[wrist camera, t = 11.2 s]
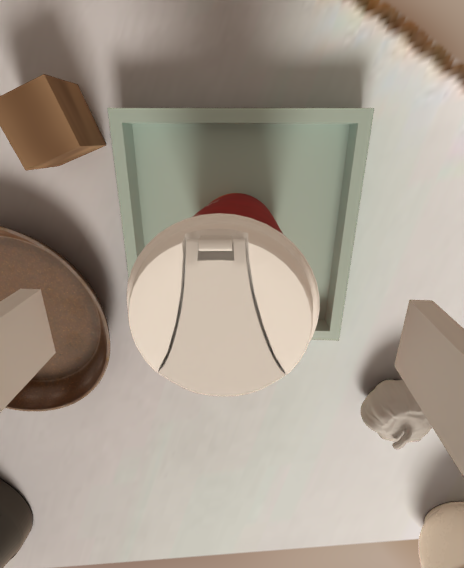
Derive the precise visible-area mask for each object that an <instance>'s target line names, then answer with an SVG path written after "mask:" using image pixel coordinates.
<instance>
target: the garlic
mask: <svg viewBox="0 0 464 568" xmlns="http://www.w3.org/2000/svg"><path fill="white" fill-rule="evenodd" d="M361 416H362V419H363V421H364V423H365V424H366V425H367V426H368V427H369V428H370V429H372V430H373V431H375V432H378V434H379V436H380V437H381V438H382V439H385V440H390V441H394V442H395V443H393V447H394V448H395V449H400V448H402V447H403V446H404V445H405V444H406V443H408V442H417V441H420V440H421V438H422V437H423V436H425V435H426V434H427V433H428V432H429V431H430V429H431V428H432V426H431V424H430V423H429V421H428V419H427V418H426V416H425V415H424V413H423V411H422V410H421V408H420V407H419V405H418V403H417V402H416V400H415V399H414V397H413V395H412V394H411V392H410V391H409V389H408V387H407V386H406V384H405V382H404V381H403V379H402V380H385V381H383V382H381V383H379V384H378V385H377V386H376V388H375V389H374V390H373V391H371V392H370V393H369V394H368V396H367V397H366V399H365V400H364V402H363V403H362V406H361Z"/></svg>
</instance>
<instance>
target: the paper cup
mask: <svg viewBox="0 0 464 568" xmlns="http://www.w3.org/2000/svg"><path fill="white" fill-rule="evenodd" d="M127 309H128V319H129V326H130V330H131V334H132V337H133V339H134V341H135V344H136V346H137V348H138V350H139V352H140V353H141V355H142V356H143V358H144V359H145V360H146V362H147V363H148V364H149V365H150V366H151V367H152V369H154V370H155V371H156V372H157V371H158V369H159V371H158V374H160V375H162V376H163V377H165V378H167V379H168V380H170V381H171V382H173V383H175V384H177V385H179V386H181V387H182V388H184V389H187V390H190V391H192V392H195V393H199V394H204V395H210V396H238V395H244V394H249V393H252V392H255V391H258V390H261V389H263V388H265V387H267V386H269V385H271V384H272V383H274V382H276V381H277V380H279V379H281V378H282V377H284V376H285V373H286V374H288V373H289V372H290V371H291V370H292V369H293V368H294V367H295V366H296V365H297V363H298V362H299V361H300V359H301V358H302V356H303V354H304V352H305V351H306V349H307V346H308V344H309V342H310V340H311V339H312V337H313V334H314V331H315V329H316V326H317V322H318V317H319V311H320V297H319V291H318V286H317V282H316V279H315V276H314V274H313V271H312V268H311V267H310V265H309V263H308V262H307V260H306V258H305V256H304V255H303V254H302V253H301V251H300V250H299V249H298V248H297V247H296V246H295V244H294V243H293V242H292V241H290V240H289V239H288V238H287V237H286V236H284V235H283V233H282V231H281V229H280V228H279V226H278V224H277V222H276V221H275V219H274V217H273V216H272V214H271V213H270V211H269V210H268V208H267V207H266V206H265V205H264V204H263V203H262V202H261V201H259V200H258V199H256V198H254V197H252V196H250V195H247V194H242V193H231V194H226V195H223V196H221V197H219V198H217V199H215V200H213V201H212V202H210V203H209V204H208V205H206V206H205V207H204V208H203V209H201V210H200V211H199V212H198V213H196V214H195V215H194V216H193V217H191V218H187V219H184V220H182V221H179V222H177V223H175V224H173V225H171V226H169V227H168V228H166V229H165V230H163V231H162V232H160V233H159V234H157V235H156V236H155V237H154V238H153V239H152V240H151V241H150V242H149V243H148V244H147V245H146V246H145V247H144V249H143V250H142V252H141V253H140V254H139V256H138V257H137V259H136V261H135V263H134V265H133V267H132V270H131V273H130V277H129V280H128V286H127ZM159 367H160V368H159Z"/></svg>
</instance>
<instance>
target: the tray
mask: <svg viewBox="0 0 464 568" xmlns="http://www.w3.org/2000/svg"><path fill="white" fill-rule="evenodd" d="M107 109H108V117H109V125H110V133H111V141H112V149H113V157H114V165H115V173H116V181H117V189H118V197H119V205H120V213H121V221H122V229H123V237H124V245H125V253H126V261H127V269H128V277H130V273H131V270H132V267H133V265H134V263H135V261H136V259H137V257H138V256H139V254H140V253H141V252H142V250H143V249H144V247H145V246H146V245H147V244H148V243H149V242H150V241H151V240H152V239H153V238H154V237H155V236H156V235H157V234H159V233H160V232H162V231H163V230H165V229H166V228H168V227H169V226H171V225H173V224H175V223H177V222H179V221H182V220H184V219H187V218H191V217H193V216H194V215H195V214H196V213H198V212H199V211H200V210H201V209H203V208H204V207H205V206H206V205H208V204H209V203H210V202H212V201H213V200H215V199H217V198H219V197H221V196H223V195H226V194H231V193H242V194H247V195H250V196H252V197H254V198H256V199H258V200H259V201H261V202H262V203H263V204H264V205H265V206H266V207H267V208H268V210H269V211H270V213H271V214H272V216H273V217H274V219H275V221H276V222H277V224H278V226H279V228H280V229H281V231H282V233H283V235H284V236H286V237H287V238H288V239H289V240H290V241H292V242H293V243H294V244H295V246H296V247H297V248H298V249H299V250H300V251H301V253H302V254H303V255H304V256H305V258H306V260H307V262H308V263H309V265H310V267H311V268H312V271H313V274H314V276H315V279H316V282H317V286H318V291H319V297H320V311H319V317H318V322H317V326H316V329H315V331H314V334H313V337H312V339H311V340H336V341H339V337H340V330H341V324H342V317H343V311H344V304H345V298H346V291H347V284H348V278H349V271H350V265H351V258H352V251H353V245H354V238H355V232H356V225H357V219H358V212H359V205H360V199H361V192H362V186H363V179H364V172H365V166H366V159H367V153H368V146H369V140H370V133H371V126H372V120H373V113H374V108H107Z"/></svg>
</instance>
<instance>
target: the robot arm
mask: <svg viewBox="0 0 464 568" xmlns="http://www.w3.org/2000/svg"><path fill="white" fill-rule="evenodd" d="M55 353H56V352H55V348H54V343H53V339H52V335H51V331H50V327H49V322H48V318H47V314H46V310H45V306H44V301H43V297H42V293H41V289H19V290H18V291H16V292H14V293H13V294H11V295H10V296H8V297H7V298H5V299H4V300H2V301H0V413H1V411H2V410H3V409H4V408H5V407H6V406H7V405H8V404H9V403H10V402H11V401H12V400H13V399H14V397H15V396H16V395H17V394H18V393H19V392H20V391H21V390H22V389H23V388H24V387H25V386H26V384H27V383H28V382H29V381H30V380H31V379H32V378H33V377H34V376H35V375H36V374H37V373H38V371H39V370H40V369H41V368H42V367H43V366H44V365H45V364H46V363H47V362H48V361H49V360H50V358H51V357H52V356H53V355H54V354H55ZM394 366H395V368H396V370H397V371H398V373H399V374H400V376H401V378H402V379H403V381H404V382H405V384H406V386H407V387H408V389H409V391H410V392H411V394H412V395H413V397H414V399H415V400H416V402H417V403H418V405H419V407H420V408H421V410H422V411H423V413H424V415H425V416H426V418H427V419H428V421H429V423H430V424H431V426H432V427H433V429H434V431H435V432H436V434H437V435H438V437H439V439H440V440H441V442H442V443H443V445H444V447H445V448H446V450H447V451H448V453H449V455H450V456H451V458H452V459H453V461H454V463H455V464H456V466H457V468H458V469H459V471H460V472H461V474H462V476H463V477H464V329H463V328H462V327H461V326H460V325H459V324H458V323H457V322H456V321H455V320H453V319H452V318H451V317H450V316H449V315H448V314H447V313H446V312H445V311H443V310H442V309H441V308H440V307H439V306H438V305H437V304H436V303H435V302H433V301H430V300H409V304H408V309H407V313H406V317H405V321H404V326H403V330H402V334H401V338H400V343H399V347H398V351H397V355H396V360H395V364H394ZM32 525H33V518H32V513H31V510H30V508H29V506H28V505H27V503H26V502H25V500H24V499H23V498H22V496H21V495H20V494H19V493H18V492H17V491H16V490H14V489H13V488H12V487H11V486H9V485H8V484H7V483H5V482H4V481H2V480H0V568H3V567H4V566H5V565H6V564H7V563H8V561H9V560H11V559H12V558H13V557H14V556H15V555H16V554H17V552H18V551H19V550H20V548H21V547H22V545H23V543H24V541H25V540H26V538H27V536H28V534H29V533H30V531H31V529H32Z"/></svg>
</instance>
